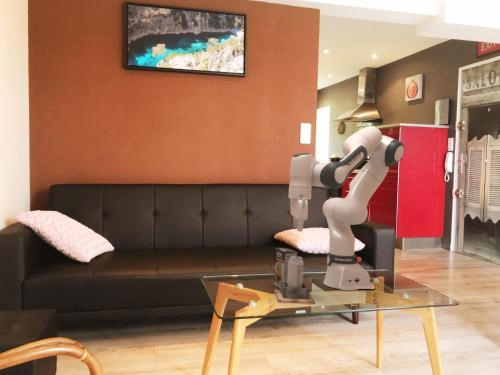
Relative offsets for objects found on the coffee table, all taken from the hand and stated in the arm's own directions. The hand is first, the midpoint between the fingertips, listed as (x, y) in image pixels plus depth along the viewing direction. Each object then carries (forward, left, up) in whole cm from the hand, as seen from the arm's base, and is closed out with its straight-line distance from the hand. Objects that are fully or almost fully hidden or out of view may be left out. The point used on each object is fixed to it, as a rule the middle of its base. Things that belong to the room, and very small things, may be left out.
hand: (297, 229), depth 169 cm
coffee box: (+2, -16, -27) cm, 32 cm away
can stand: (0, 0, -27) cm, 27 cm away
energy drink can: (0, 0, -26) cm, 26 cm away
